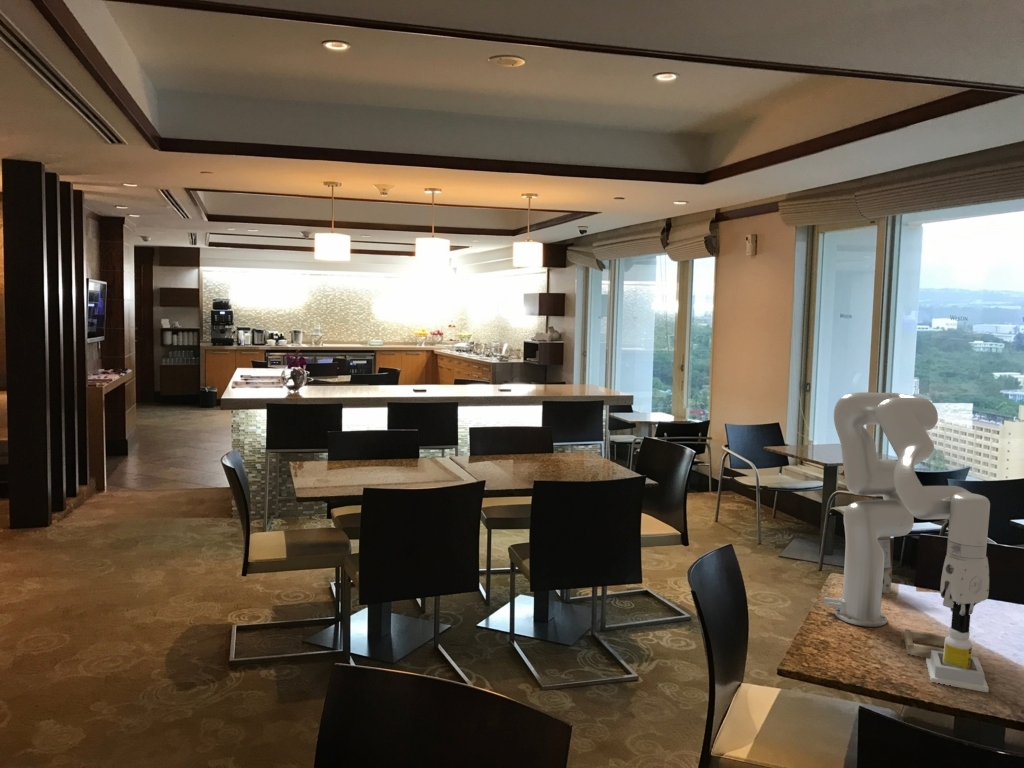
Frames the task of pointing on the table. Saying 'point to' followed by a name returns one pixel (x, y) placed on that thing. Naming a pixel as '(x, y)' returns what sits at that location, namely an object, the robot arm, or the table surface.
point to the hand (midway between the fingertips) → (959, 630)
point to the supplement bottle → (957, 650)
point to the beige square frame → (923, 638)
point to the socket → (956, 673)
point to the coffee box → (887, 561)
